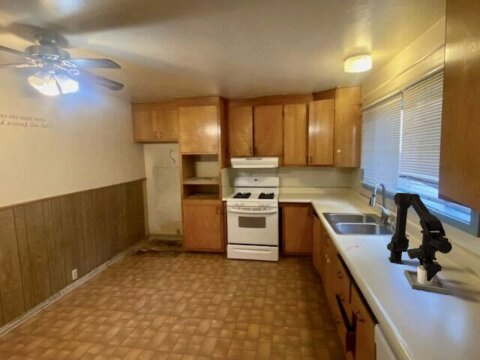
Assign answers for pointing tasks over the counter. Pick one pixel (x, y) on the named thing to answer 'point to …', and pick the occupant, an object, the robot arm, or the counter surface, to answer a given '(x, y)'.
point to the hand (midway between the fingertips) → (425, 276)
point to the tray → (435, 287)
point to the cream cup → (423, 276)
